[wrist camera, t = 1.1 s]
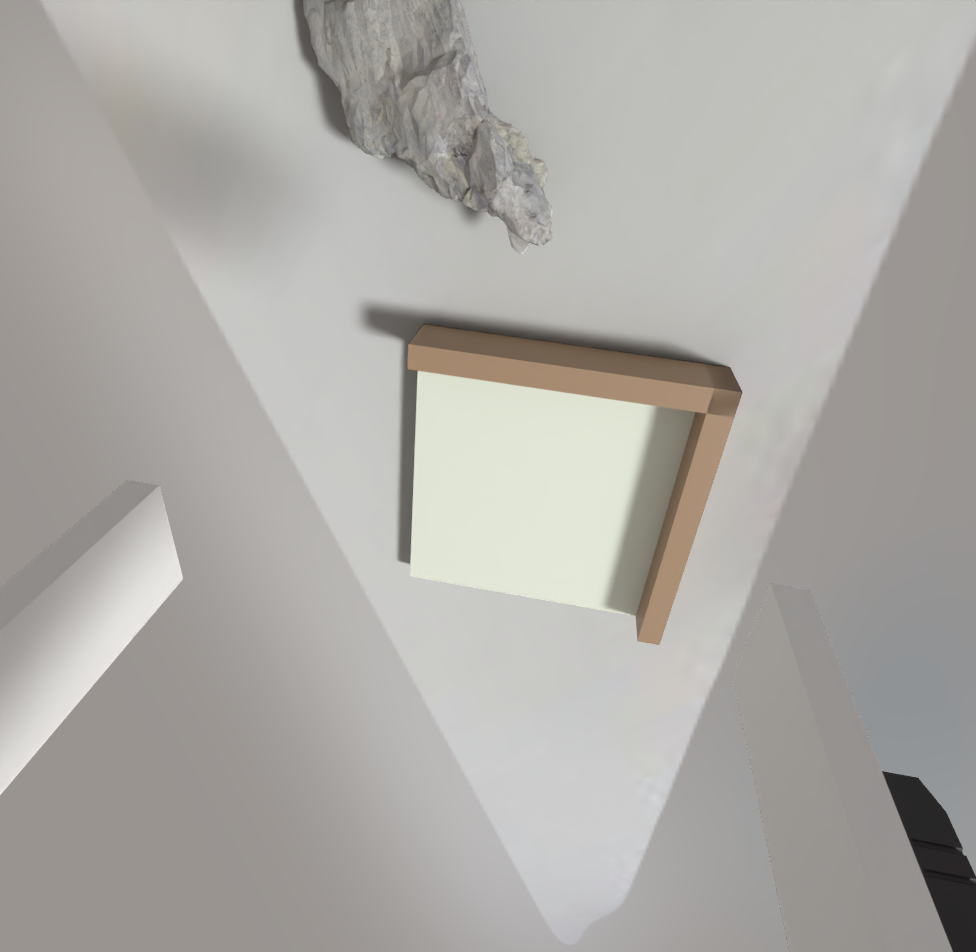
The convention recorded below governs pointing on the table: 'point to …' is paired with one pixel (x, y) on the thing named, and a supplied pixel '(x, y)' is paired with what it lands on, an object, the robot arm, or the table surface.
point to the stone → (429, 105)
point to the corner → (562, 469)
